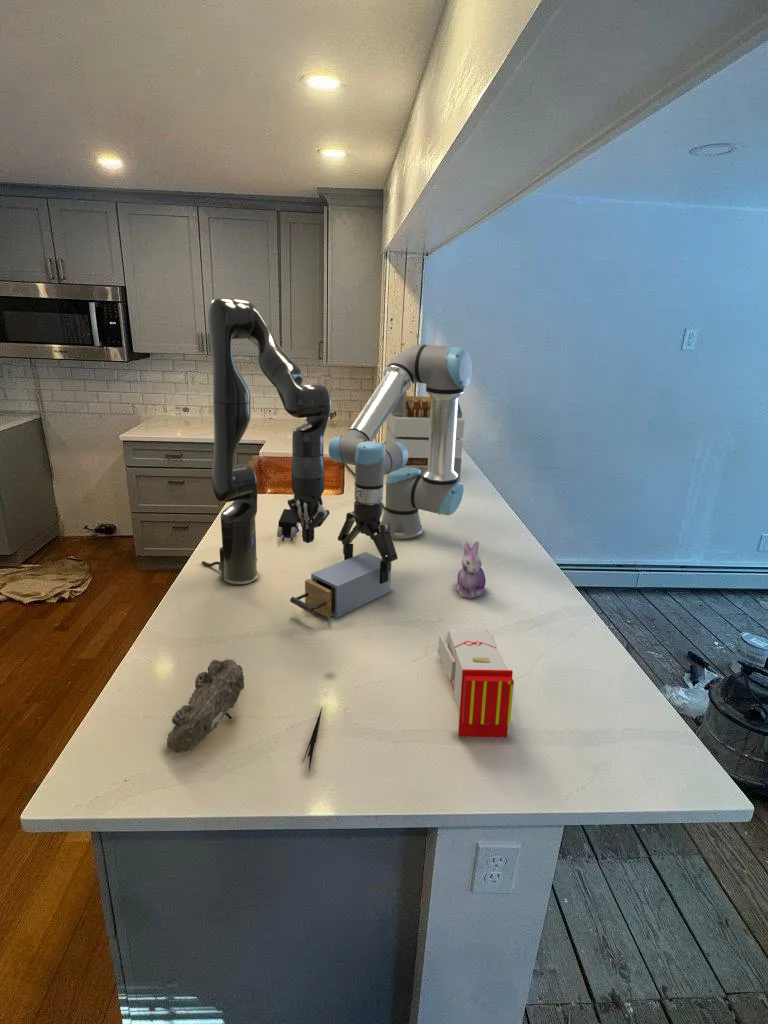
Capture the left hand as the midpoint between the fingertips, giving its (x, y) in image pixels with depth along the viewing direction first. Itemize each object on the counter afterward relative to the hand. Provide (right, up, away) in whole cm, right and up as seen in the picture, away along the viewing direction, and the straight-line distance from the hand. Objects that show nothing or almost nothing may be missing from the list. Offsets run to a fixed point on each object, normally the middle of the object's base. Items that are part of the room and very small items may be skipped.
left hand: (308, 541), depth 137 cm
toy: (+36, -31, -18) cm, 51 cm away
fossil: (-14, -32, -29) cm, 45 cm away
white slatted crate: (+36, +26, +138) cm, 145 cm away
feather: (+6, -33, -28) cm, 43 cm away
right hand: (+13, -10, +20) cm, 26 cm away
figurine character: (-14, -1, +57) cm, 59 cm away
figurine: (+43, -16, +24) cm, 52 cm away
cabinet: (+9, -16, +18) cm, 26 cm away
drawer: (+6, -17, +14) cm, 22 cm away
